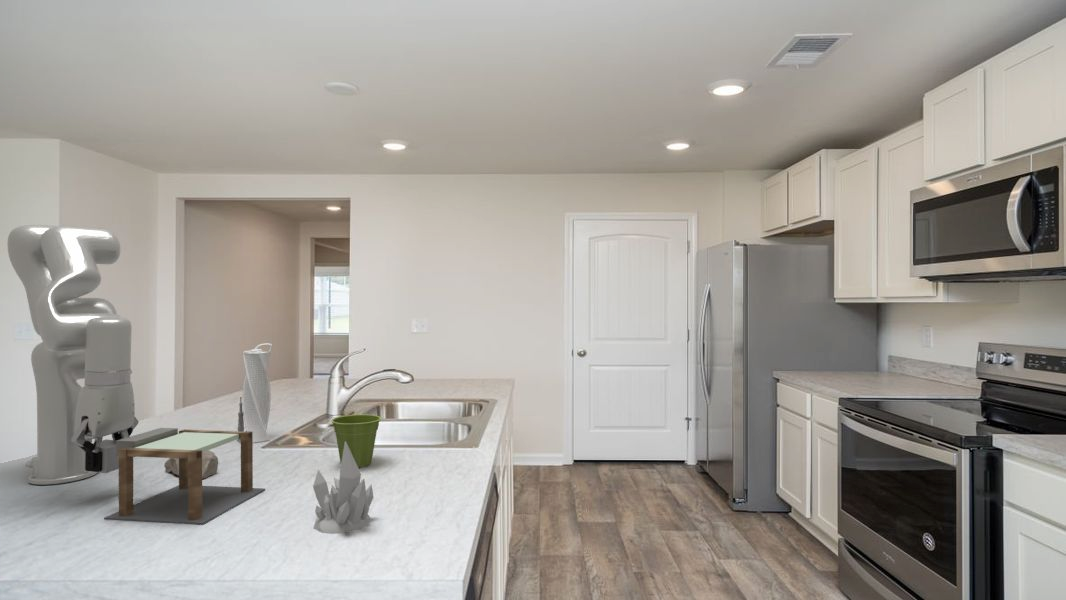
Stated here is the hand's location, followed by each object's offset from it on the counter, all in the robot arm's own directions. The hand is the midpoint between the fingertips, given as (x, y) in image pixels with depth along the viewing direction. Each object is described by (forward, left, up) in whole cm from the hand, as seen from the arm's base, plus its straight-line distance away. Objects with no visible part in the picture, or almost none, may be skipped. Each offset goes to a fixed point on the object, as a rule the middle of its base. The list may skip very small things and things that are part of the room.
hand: (106, 465), depth 119 cm
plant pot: (+41, +29, -7) cm, 50 cm away
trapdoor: (+17, -1, +4) cm, 17 cm away
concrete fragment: (+6, +17, -7) cm, 20 cm away
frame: (+19, -1, -7) cm, 21 cm away
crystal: (+54, -6, -7) cm, 54 cm away
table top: (+20, -1, -7) cm, 21 cm away
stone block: (0, 0, -1) cm, 1 cm away
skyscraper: (+2, +48, -7) cm, 49 cm away
